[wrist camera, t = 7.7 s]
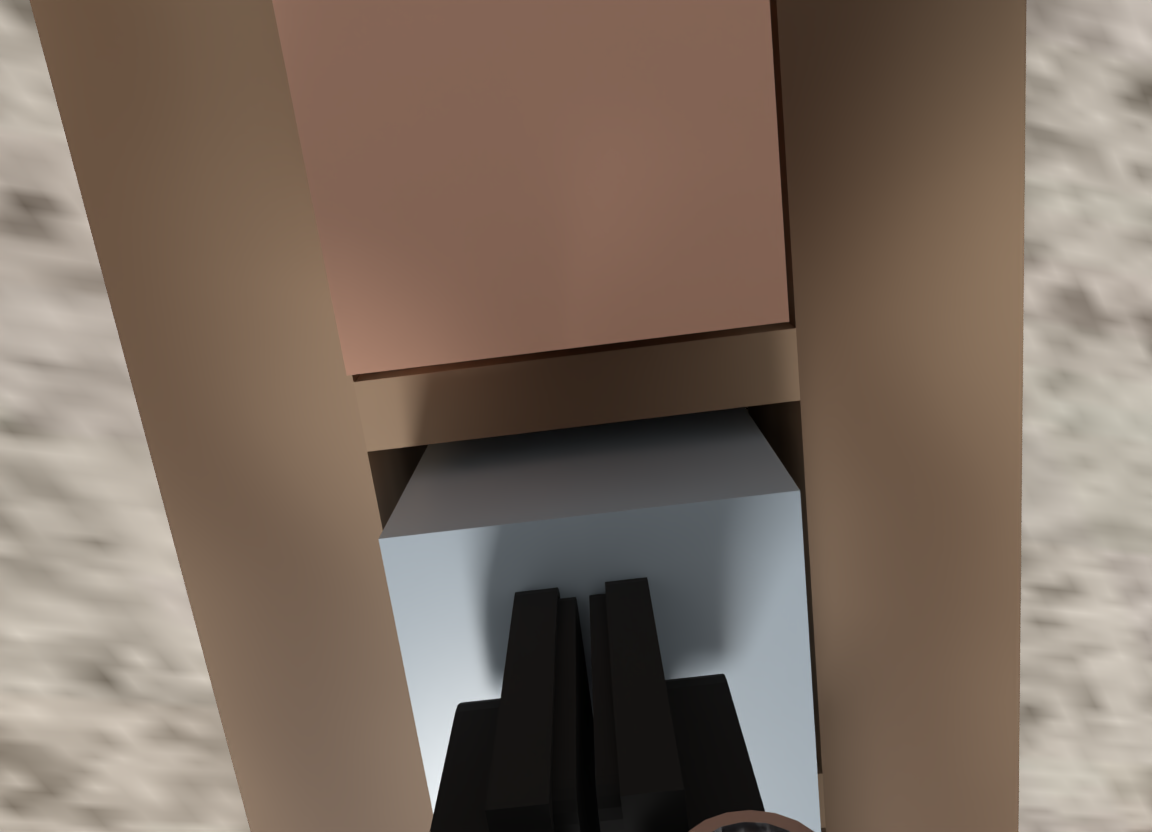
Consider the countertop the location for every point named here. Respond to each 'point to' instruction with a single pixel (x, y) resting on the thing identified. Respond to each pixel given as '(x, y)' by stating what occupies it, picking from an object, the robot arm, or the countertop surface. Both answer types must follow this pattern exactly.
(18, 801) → the countertop surface
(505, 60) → the peach cube
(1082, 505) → the countertop surface
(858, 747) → the wooden compartment tray
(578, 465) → the key slate
